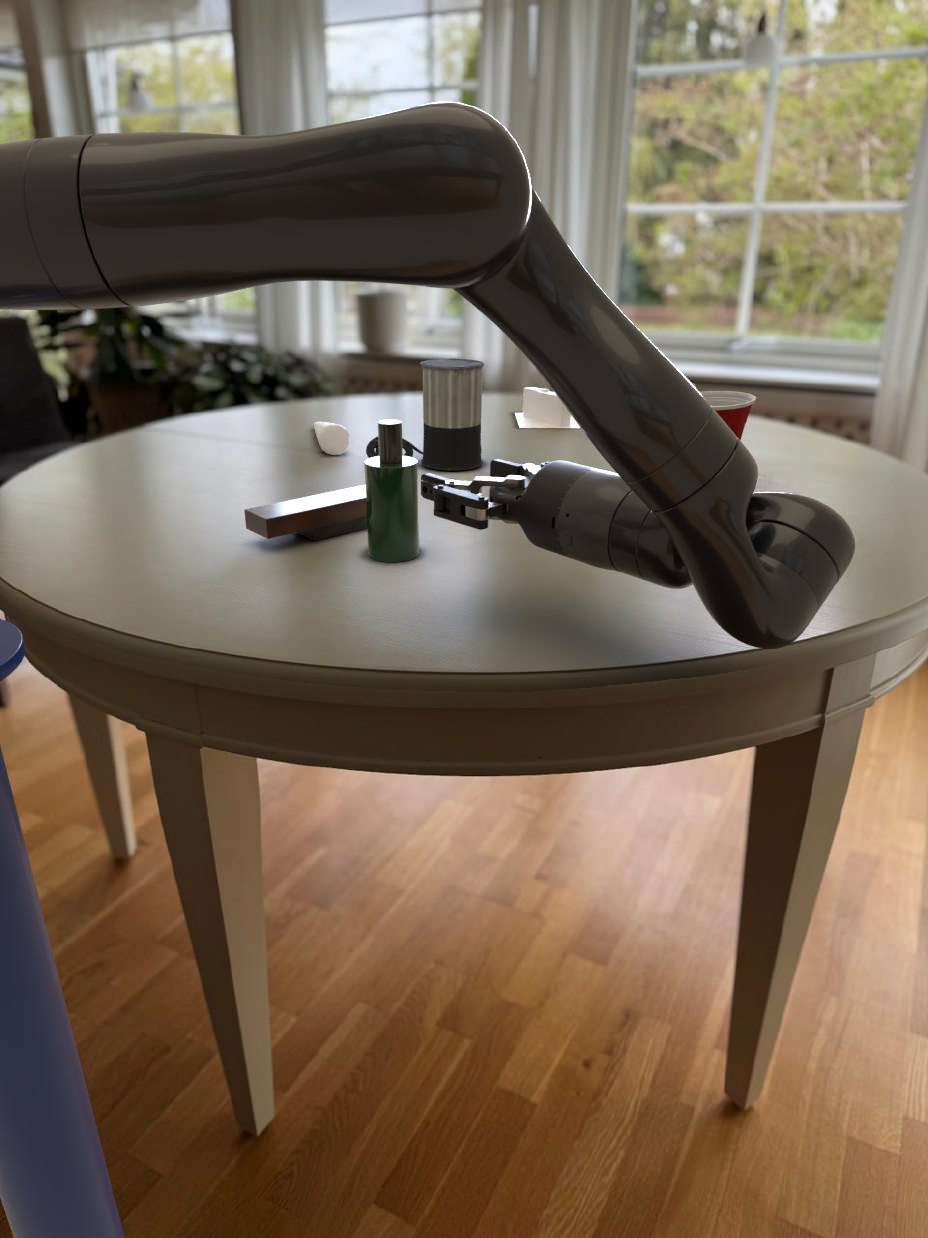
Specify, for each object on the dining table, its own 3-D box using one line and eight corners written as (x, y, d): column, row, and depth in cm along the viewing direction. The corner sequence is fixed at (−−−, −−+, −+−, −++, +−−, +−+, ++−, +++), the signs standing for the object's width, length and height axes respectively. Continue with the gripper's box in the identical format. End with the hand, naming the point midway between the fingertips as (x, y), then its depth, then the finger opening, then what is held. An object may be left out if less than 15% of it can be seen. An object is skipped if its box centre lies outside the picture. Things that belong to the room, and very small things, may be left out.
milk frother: (495, 467, 127) (497, 363, 121) (400, 481, 119) (397, 371, 113) (446, 448, 138) (445, 353, 132) (357, 460, 130) (352, 359, 124)
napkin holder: (582, 428, 153) (584, 395, 151) (519, 428, 153) (520, 395, 151) (571, 412, 167) (573, 382, 165) (513, 412, 167) (514, 382, 165)
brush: (269, 553, 91) (266, 519, 90) (247, 542, 95) (243, 509, 93) (402, 520, 102) (402, 489, 101) (379, 511, 105) (377, 481, 104)
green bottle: (388, 566, 88) (384, 429, 82) (358, 552, 92) (352, 421, 86) (429, 554, 91) (427, 422, 86) (398, 542, 95) (395, 414, 89)
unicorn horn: (336, 425, 154) (335, 398, 152) (351, 455, 133) (349, 424, 131) (310, 426, 153) (308, 399, 151) (320, 457, 132) (318, 426, 130)
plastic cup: (651, 475, 122) (659, 390, 117) (720, 472, 124) (731, 387, 119) (684, 496, 112) (694, 403, 108) (759, 492, 115) (772, 400, 110)
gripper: (650, 456, 72) (514, 427, 83) (532, 485, 63) (397, 447, 74) (642, 542, 75) (512, 502, 86) (528, 580, 66) (399, 530, 77)
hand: (459, 477), depth 80 cm, fingers open, 8 cm apart
